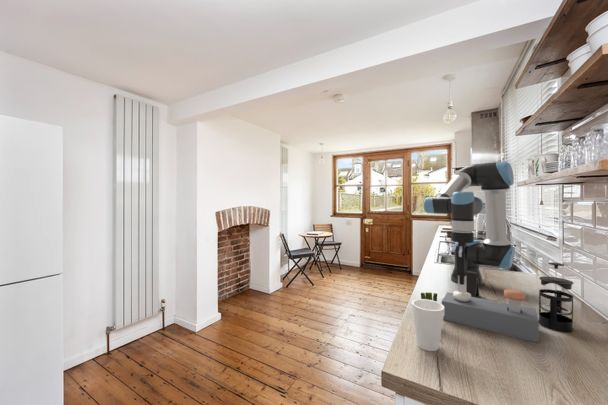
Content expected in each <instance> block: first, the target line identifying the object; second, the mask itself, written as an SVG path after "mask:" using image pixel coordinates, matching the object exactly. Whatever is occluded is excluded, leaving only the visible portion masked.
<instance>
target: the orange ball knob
mask: <svg viewBox="0 0 608 405" xmlns="http://www.w3.org/2000/svg"><path fill="white" fill-rule="evenodd" d="M526 294H527V293H526V292H524V291H522V290H518V289H512V288H504V289H503V297H504V298H506V299H508V304H509V311H511V312H516V313H521V306H522V305H521V304H522V303H521V302H524V301H526V297H527V295H526Z"/></svg>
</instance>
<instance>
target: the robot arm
mask: <svg viewBox="0 0 608 405" xmlns="http://www.w3.org/2000/svg"><path fill="white" fill-rule="evenodd" d="M514 181H515V178H514V171H513V168H512V165H511V164H510V162H508V161H496V162H495V161H494V162H485V163H484V162H483V163H474V164H468V165H467V166H464V167H462V168H460V169H458V170H457V171H455V172H454V173H453V174H452V175H451V177H450V180H449V181H448V182H447V183H446V184H445V185H444V186H443V188H441V189H440V191H438V193H436V195H435V196H427V197H425V198H424V200H423V210H424V212H425V213H427V214H434V215H435V214H437V215H438V214H439V215H451V219H450V220H451V222H450V223H449V225H450V226H451V235H450V236H451V237H450V239H451V241H452V242H453V243H454V248H453V250H454V267H453V270H452V273H451V274H450V281H452V282H454V283H456V284H457V291H458V292H462V293H466V276H467V275H469V273H466V272H467V271H473V272H478V283H479V286H482V285H483V284H484V280H483V277H482V273H481V271H480V266H485V267H491V268H497V269H505V270H508V269H511V267H512V266H513V263H514V260H515V254H516V248H515V246H513V245H511V244H512V243H511V241H510V240H508V239H507V238H508V237H507V235H508V232H507V192H508V191H509V190H510V188H511V187H510V186H513V185H514ZM469 187H480V189H481V190H480V191H482V192H483V193H484V202H483V200H482V199H481V198H479V197H476V196H475V193H474V192H473V191H464V190H466V189H468V188H469ZM484 204H485V205H484ZM484 209H485V210H484ZM483 210H484V211H485V238H484V239H483V240H482V243H480V240H479V239H475V234H474V231H475V215H478V214H480V213H481V212H482V211H483Z"/></svg>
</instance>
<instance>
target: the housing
mask: <svg viewBox="0 0 608 405" xmlns="http://www.w3.org/2000/svg"><path fill="white" fill-rule="evenodd" d="M441 304H442V305H443V306H444V307H445V315H444V317H443V321H449V322H452V323H456V324H460V325H465V326H469V327H473V328H476V329H481V330H485V331H489V332H493V333H496V334H500V335H505V336H509V337H512V336H513V338H516V337H517V339H520V338H521V340H524V341H529V342H532V343H536V342H537V344H538V343H539V342H540V340H539V338H540V337H539V332H540V331H539V329H540V326H539V325H540V324H539V315H538V313H537V309H536V308H532V307H527V306H522V305H521V313H516V312H511V311H509V303H507V302H502V301H496V300H491V299H484V298H480V297H478V298H476V297H471V301H467V302H462V301H457V300H456V299H454V298H453V292H448V291H447V292H446V294H445V295H444V297H443V298H442V300H441Z"/></svg>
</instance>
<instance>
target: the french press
mask: <svg viewBox="0 0 608 405" xmlns="http://www.w3.org/2000/svg"><path fill="white" fill-rule="evenodd" d="M548 265H551V266H553V268H554V270H555V272H554V274H555V275H554V276H545V275H544V276H543V275H542V276H539V280H540V284H541V285H542V286H546V285H548V284H554V289H548V288H547V289H546V288H544V289H542V288H541V289H539V290H538V291H539V292H538V308H539V309H538V320H539V325H540V326H542V327H543V328H546V329H547V330H552V331H554V332H560V333H568V334H570V333H574V332H575V329H574V295H572V294H571V293H568V292H565V291H562V290H558V289H557V286H559V287H561V288H562V289H565V290H566V291H567V290H568V291H569V290H573V289H572V287H573V286H572V285H574V282H573V281H571V280H569V279H565V278H561V277H558V276H557V273H558V269H559V266H560V267H564V266H565V264H563V263H559V262H553V261H552V262H548ZM550 294H553V295H554V296H553V295H550ZM542 297H543V298H546V299H548V300H550V301H549V302H550V303H542V301H541V300H542ZM565 302H567V303H571V309H569V308H566V307H563V303H565ZM541 309H542V310H543V311H542V310H541ZM568 316H571V318H570V317H568Z"/></svg>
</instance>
